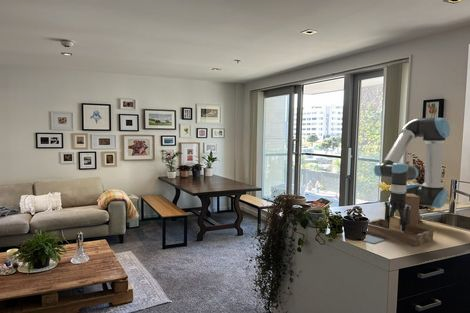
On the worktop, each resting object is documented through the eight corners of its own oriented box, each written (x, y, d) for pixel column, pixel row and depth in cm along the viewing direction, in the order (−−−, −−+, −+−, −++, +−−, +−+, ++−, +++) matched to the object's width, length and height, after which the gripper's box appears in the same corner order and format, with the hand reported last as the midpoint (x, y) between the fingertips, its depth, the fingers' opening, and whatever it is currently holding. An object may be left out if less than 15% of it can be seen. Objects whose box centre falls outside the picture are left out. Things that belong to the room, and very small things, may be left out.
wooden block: (417, 232, 189) (419, 196, 188) (398, 230, 191) (400, 195, 190) (412, 227, 199) (414, 193, 197) (394, 226, 201) (395, 192, 199)
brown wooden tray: (380, 226, 198) (380, 218, 198) (432, 240, 175) (433, 230, 175) (361, 231, 187) (361, 223, 187) (414, 246, 164) (415, 236, 163)
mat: (366, 235, 181) (366, 234, 181) (384, 240, 173) (384, 239, 173) (355, 238, 175) (355, 237, 175) (373, 244, 167) (373, 243, 167)
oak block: (393, 233, 185) (394, 215, 184) (403, 236, 181) (404, 217, 180) (389, 235, 182) (390, 217, 181) (398, 237, 178) (399, 219, 177)
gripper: (378, 190, 184) (376, 232, 186) (412, 195, 170) (409, 241, 172) (386, 189, 189) (383, 230, 191) (419, 194, 174) (416, 238, 176)
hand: (396, 235), depth 181 cm, fingers closed on oak block, 5 cm apart
